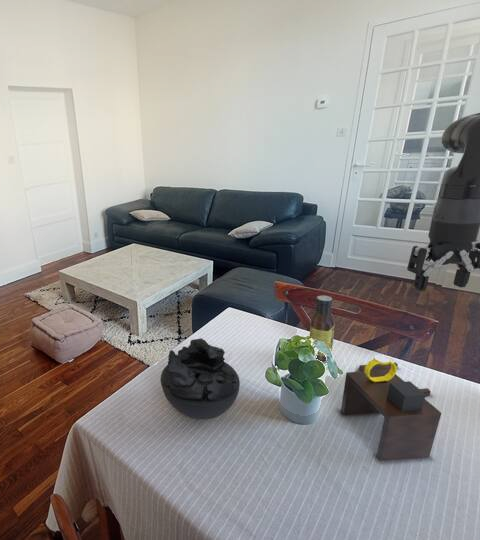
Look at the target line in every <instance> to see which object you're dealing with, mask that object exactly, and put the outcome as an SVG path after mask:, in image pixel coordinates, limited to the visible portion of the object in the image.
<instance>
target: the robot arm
mask: <svg viewBox="0 0 480 540" xmlns="http://www.w3.org/2000/svg"><path fill="white" fill-rule="evenodd" d="M441 144H442V146H443V148H444V149H445V150H446V151H449V152H450V153H454V154H462V156H461V158H460V161H459V162H458V164H457V166H452V167H450V168H448V169H447V170H445V172H444V173H443V175H442V178H441V183H440V186H439V192H438V196H437V199H436V201H435V205H434V208H433V211H432V217H431V221H430V226H429V231H428V234H427V235H428V239H429V243H428V244H427V246H419V245H413V247H412V248H411V252H410V257H409V259H408V263H407V266H406V267H407V268H406V270H407V271H408V272H411V273H413V274H415V277H414V282H413V287H414V288H415V289H416V290H418V291H420V292H425V291H427V288H428V283H429V278H430V276H429V275H430V274H432V272H433V271H435V270H438V269H440V267H441V266H446V265H450V264H451V265H456V266H457V269H456V270H455V274H454V279H453V286H455V287H458V288H465V287H466V286H467V285H468V283H469V280H470V276H471V273H472V272H473V271H475V270H476V269H480V240H477V239H478V235H479V232H480V112H476V113H473V114H468V115H465V116H463V117H460V118H458V119H456V120H454V121H453V122H451V123H450V124H449V125H448V126H447V127H446V128H445V129H444V131H443V133H442V135H441ZM431 261H432V262H431Z"/></svg>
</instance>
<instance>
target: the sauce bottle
mask: <svg viewBox="0 0 480 540" xmlns="http://www.w3.org/2000/svg"><path fill="white" fill-rule="evenodd" d="M315 301H316V308H315V312H314V313H313V314H312V315H311V317H310V318H311V319H310V326H309V337H310V336H311V337H312V338H313V339H316V340H318V341H321V342H324V343H325V344H326V345H327V346H329V348H330V349H331V351H332V352H333V345H334V335H335V323H336V322H335V319H334V317H333V316H334V315H333V313H332V304H333V298H332V297H331V296H329V295H325V294H324V295H318V296H316V299H315ZM317 359H318V360H317ZM315 360H317V361H327V360H326V357H325V355H324V354H323V353H321V352H319V351H318V355H317V358H316V359H315Z"/></svg>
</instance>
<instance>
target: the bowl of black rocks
mask: <svg viewBox="0 0 480 540" xmlns="http://www.w3.org/2000/svg"><path fill="white" fill-rule="evenodd" d="M225 353H226V352H225V350H224V349H223V348H221V347H218V346H213V345H211V344H209V343H208V342H207V341H206V340H205V339H203V338H202V337H201V338H194V339H191V340H190V343H189V345H188V347H187V346H182V348H181V349H179V350H178V351H177V354H176V352H175V351H174V350H173V349H170V350H169V352H168V356H167V365H165V367H163V369H162V370H161V373H160V386H161V389H162V392H163V394H164V396H165V399H166V400H167V402H169V404H170V405H171V406H172V408H174V409H175V410H177V412H179V413H180V414H182V415H184V416H185V417H188V418H191V419H193V420H194V419H195V420H212V419H216V418H217V417H220V416H222V415H223V414H225V413H226V412H227V411H228V410H230V408H231V407H232V406H233V405H234V403H235V401H236V400H237V397H238V396H239V392H240V385H241V380H240V377H239V374H238V373H237V371H236V370H235V368H233V367H232V365H230V364H229V363H228V362H226V361H225V360H226V358H225V357H224V356H225Z"/></svg>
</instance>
